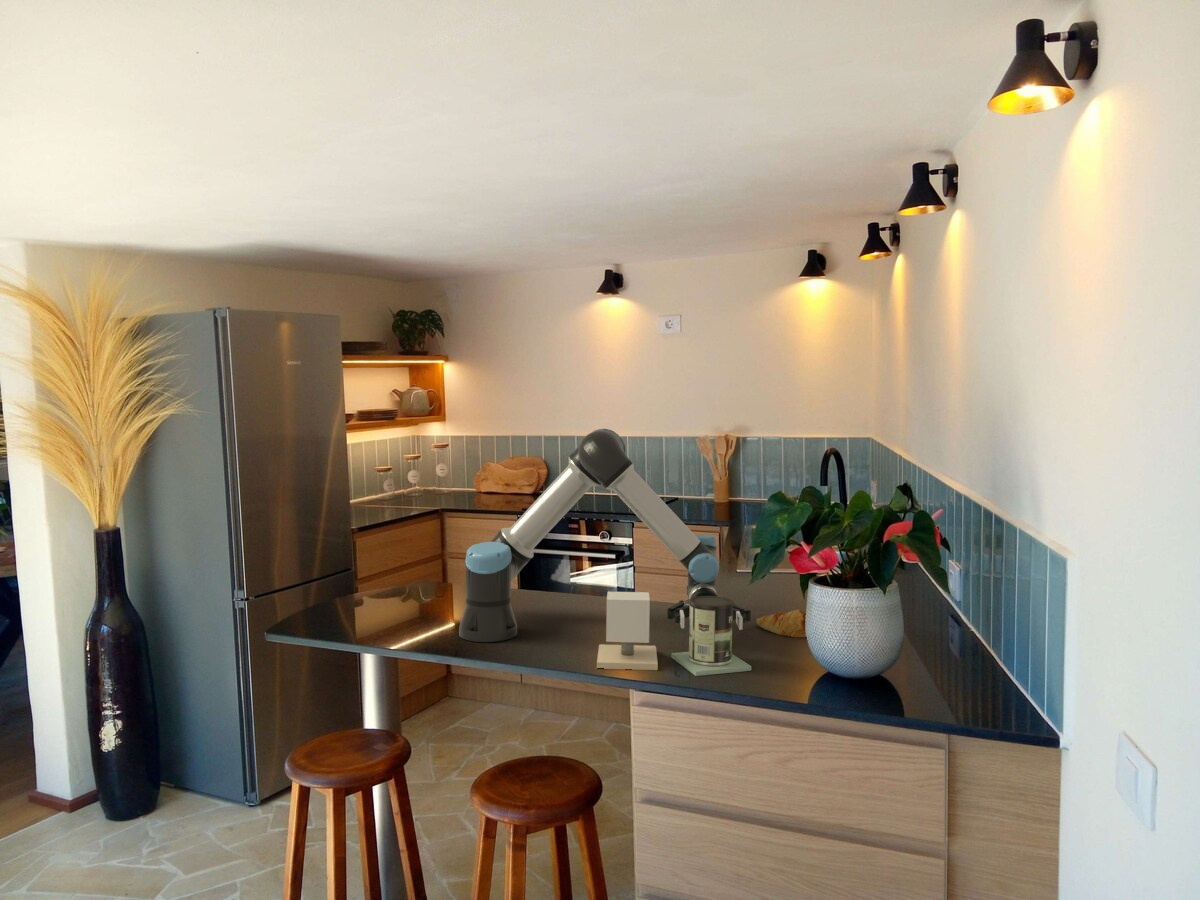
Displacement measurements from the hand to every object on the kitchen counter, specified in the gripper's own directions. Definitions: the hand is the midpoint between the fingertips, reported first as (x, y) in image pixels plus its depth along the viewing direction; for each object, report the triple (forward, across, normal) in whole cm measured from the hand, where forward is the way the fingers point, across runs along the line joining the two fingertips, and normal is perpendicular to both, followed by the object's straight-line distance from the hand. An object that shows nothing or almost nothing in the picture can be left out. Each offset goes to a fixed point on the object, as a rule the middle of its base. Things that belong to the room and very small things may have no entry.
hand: (711, 623), depth 194 cm
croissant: (-29, -25, -10) cm, 40 cm away
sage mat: (-1, 0, -10) cm, 10 cm away
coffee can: (-1, 0, -9) cm, 9 cm away
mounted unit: (-2, +20, -10) cm, 22 cm away
